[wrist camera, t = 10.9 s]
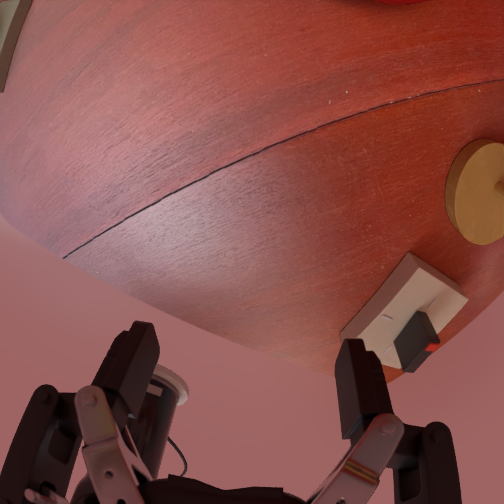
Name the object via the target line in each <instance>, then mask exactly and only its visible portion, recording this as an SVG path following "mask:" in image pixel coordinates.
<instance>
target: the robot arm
mask: <svg viewBox="0 0 504 504" xmlns="http://www.w3.org/2000/svg"><path fill="white" fill-rule="evenodd" d="M159 354H160V347H159V343H158V339H157V336H156V332H155V329H154V326H153V324H152V323H149V322H143V321H135V322H133V324H132V326H131V328H130V330H129V331H125V330H124V331H123V332H121V333H120V334H119V335H118V336H117V337H116V338H115V339H114V341H113V343H112V345H111V347H110V349H109V351H108V353H107V356H106V357H105V358H104V360H103V362H102V364H101V366H100V368H99V370H98V372H97V374H96V376H95V378H94V380H93V382H92V384H91V385H89V386H85V387H83V388H81V389H80V390H79V391H78V392H77V393H59V392H58V391H57V390H56V388H55V387H53V386H52V385H47V384H45V385H41V386H40V387H38V388H37V389H36V390H35V391H34V393H33V395H32V397H31V399H30V401H29V404H28V406H27V408H26V410H25V412H24V415H23V417H22V419H21V422H20V424H19V426H18V428H17V431H16V433H15V436H14V438H13V441H12V443H11V446H10V449H9V451H8V454H7V457H6V460H5V463H4V465H3V468H2V471H1V475H0V504H69V503H68V501H67V499H66V498H65V496H66V492H67V489H68V485H69V481H70V478H71V474H72V470H73V467H74V464H75V461H76V457H77V454H78V450H79V448H80V445H81V442H82V439H83V440H84V444H85V445H84V446H83V447H82V455H83V458H84V461H85V464H86V468H87V474H86V475H85V476H84V478H82V479H81V480H80V482H79V483H78V485H77V487H76V489H75V491H74V494H73V496H72V499H71V501H70V504H366V503H367V502H368V500H369V499H370V497H371V496H372V494H373V493H374V491H375V490H376V488H377V487H378V485H379V482H380V480H379V477H380V475H381V474H382V472H383V470H384V469H385V467H386V468H392V469H393V479H394V500H395V504H462V500H461V490H460V482H459V474H458V468H457V462H456V456H455V450H454V445H453V441H452V435H451V432H450V429H449V428H448V427H447V426H446V425H445V424H444V423H441V422H432V423H429V424H428V425H427V426H426V427H419V426H412V425H407V424H405V423H403V422H402V421H401V420H400V419H399V418H398V417H397V416H395V414H394V412H393V409H392V405H391V401H390V396H389V392H388V388H387V384H386V381H385V376H384V372H383V369H382V365H381V361H380V359H379V358H378V356H377V355H376V354H375V352H374V351H366V348H365V344H364V341H363V339H362V338H345V339H344V340H343V343H342V346H341V349H340V351H339V354H338V357H337V359H336V363H335V378H336V386H337V393H338V394H337V395H338V403H339V412H340V421H341V432H342V439H350V441H351V446H350V448H349V449H348V450H347V452H346V453H345V455H344V456H343V457H342V459H341V460H340V461H339V463H338V464H337V465H336V467H335V468H334V469H333V470H332V472H331V473H330V474H329V476H328V477H327V478H326V479H325V480H324V481H323V483H322V484H321V485H320V486H319V487H318V488H317V489H316V490H315V491H314V492H313V494H312V495H311V496H310V497H309V498H308V499H307V500H306V501H304V500H302V499H301V498H299V497H296V496H295V495H292V494H289V493H286V492H283V488H277V487H275V488H274V487H248V488H240V489H231V490H222V489H219V488H216V487H214V486H211V485H208V484H206V483H203V482H201V481H198V480H196V479H191V478H185V477H182V476H183V475H184V474H185V473H186V471H187V462H186V460H185V458H184V456H183V454H182V453H181V451H180V450H179V449H178V448H177V446H176V445H175V443H174V442H173V441H172V440H171V439H170V438H169V436H168V434H169V430H170V427H171V423H172V419H173V417H174V413H175V409H176V406H177V403H178V401H179V397H180V394H179V391H178V390H177V388H176V387H175V386H174V385H173V384H171V383H170V382H169V381H167V380H166V379H164V378H162V377H160V376H158V375H155V374H153V372H154V369H155V367H156V364H157V362H158V359H159ZM167 440H168V441H169V443H170V444H171V445H172V446H173V447H174V448H175V450H176V451H177V452H178V453H179V455H180V456H181V458H182V459H183V462H184V465H185V469H184V471H183V473H182V474H181V475H180V476H176V475H171V474H169V475H168V478H165V479H157V477H158V472H159V468H160V465H161V461H162V457H163V453H164V449H165V446H166V442H167Z"/></svg>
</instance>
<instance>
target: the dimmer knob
mask: <svg viewBox="0 0 504 504" xmlns="http://www.w3.org/2000/svg"><path fill="white" fill-rule="evenodd" d="M393 343H394V346H395V349H396V352H397V355H398V358H399V361H400V364H401V367H402V370H403V372H410V373H414V372H415V371H416V370H417V368H418V367H419V366H420V365H421V364H422V363H423V362H424V361H425V359H426V358H427V357H428V356H429V355H430V354H431V353H432V352H434V351H435V350H436V349H437V347H438V346H439V343H440V340H439V337H438V335H437V333H436V331H435V329H434V327H433V325H432V323H431V321H430V319H429V317H428V315H427V313H425V312H421V311H416V312H415V313H414V315H413V316H412V317H411V319H410V320H409V322H408V323H407V324H406V326H405V327H404V328H403V330H402V331H401V332H400V334H399V335H398V336H397V338H396V339H395V340H394V342H393Z"/></svg>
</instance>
